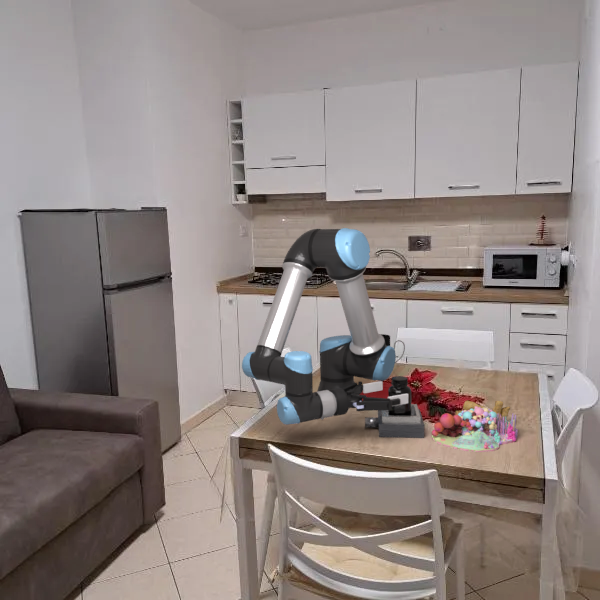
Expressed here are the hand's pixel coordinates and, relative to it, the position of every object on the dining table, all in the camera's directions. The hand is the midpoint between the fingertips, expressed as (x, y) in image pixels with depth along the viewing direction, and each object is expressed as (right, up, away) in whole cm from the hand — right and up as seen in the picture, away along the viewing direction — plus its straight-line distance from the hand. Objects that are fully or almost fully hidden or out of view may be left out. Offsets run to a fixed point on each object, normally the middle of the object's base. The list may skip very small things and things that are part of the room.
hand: (394, 391), depth 165 cm
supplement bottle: (+2, -8, +2) cm, 9 cm away
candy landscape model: (+23, -13, -2) cm, 26 cm away
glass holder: (+8, -3, +63) cm, 64 cm away
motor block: (0, -12, +3) cm, 12 cm away
